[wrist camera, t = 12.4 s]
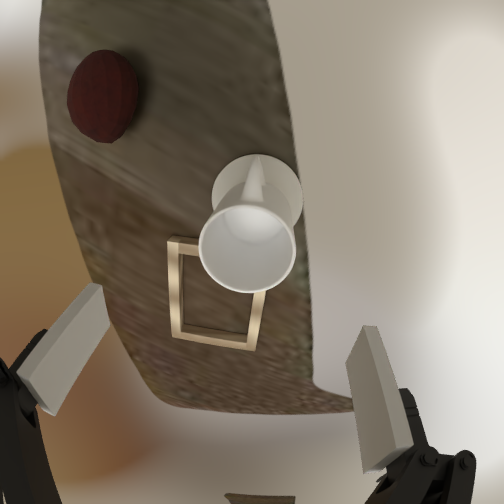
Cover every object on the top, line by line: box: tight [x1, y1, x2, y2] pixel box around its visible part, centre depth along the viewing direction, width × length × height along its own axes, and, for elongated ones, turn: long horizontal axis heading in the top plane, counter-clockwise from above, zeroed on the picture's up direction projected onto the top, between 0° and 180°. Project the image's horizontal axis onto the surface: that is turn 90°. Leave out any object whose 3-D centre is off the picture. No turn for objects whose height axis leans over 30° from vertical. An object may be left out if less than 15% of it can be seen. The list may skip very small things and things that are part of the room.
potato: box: [67, 50, 139, 143], centre depth 25 cm, size 9×12×9 cm
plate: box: [212, 154, 303, 226], centre depth 34 cm, size 11×11×1 cm
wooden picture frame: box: [168, 235, 266, 351], centre depth 40 cm, size 17×14×2 cm
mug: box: [198, 155, 296, 293], centre depth 29 cm, size 9×12×11 cm
